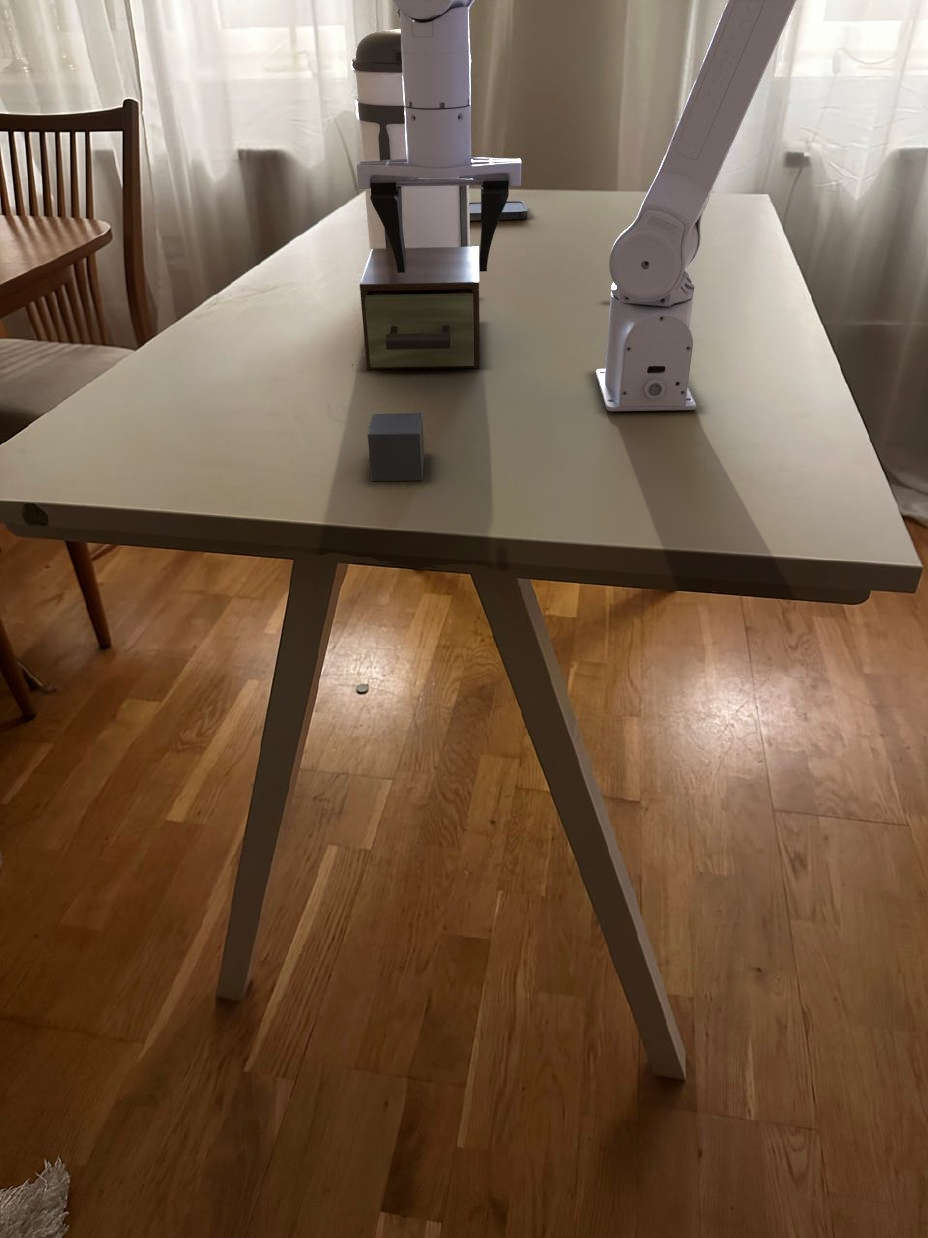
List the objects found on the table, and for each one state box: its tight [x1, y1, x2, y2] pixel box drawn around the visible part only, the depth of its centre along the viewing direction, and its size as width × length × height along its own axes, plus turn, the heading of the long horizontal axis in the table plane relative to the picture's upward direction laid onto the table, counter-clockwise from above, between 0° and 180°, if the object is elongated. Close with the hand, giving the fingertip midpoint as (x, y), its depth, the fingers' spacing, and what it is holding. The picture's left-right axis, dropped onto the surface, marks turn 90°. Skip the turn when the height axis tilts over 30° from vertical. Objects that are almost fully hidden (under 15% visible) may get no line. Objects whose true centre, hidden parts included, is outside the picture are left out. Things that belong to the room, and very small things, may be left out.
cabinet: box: [359, 246, 481, 371], centre depth 94 cm, size 13×11×8 cm
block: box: [367, 412, 425, 482], centre depth 72 cm, size 4×4×4 cm
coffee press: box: [350, 8, 472, 255], centre depth 104 cm, size 17×16×30 cm
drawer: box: [365, 290, 474, 368], centre depth 90 cm, size 17×10×7 cm, turn 0°
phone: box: [469, 200, 529, 221], centre depth 145 cm, size 8×1×15 cm
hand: (442, 269), depth 86 cm, fingers open, 7 cm apart
